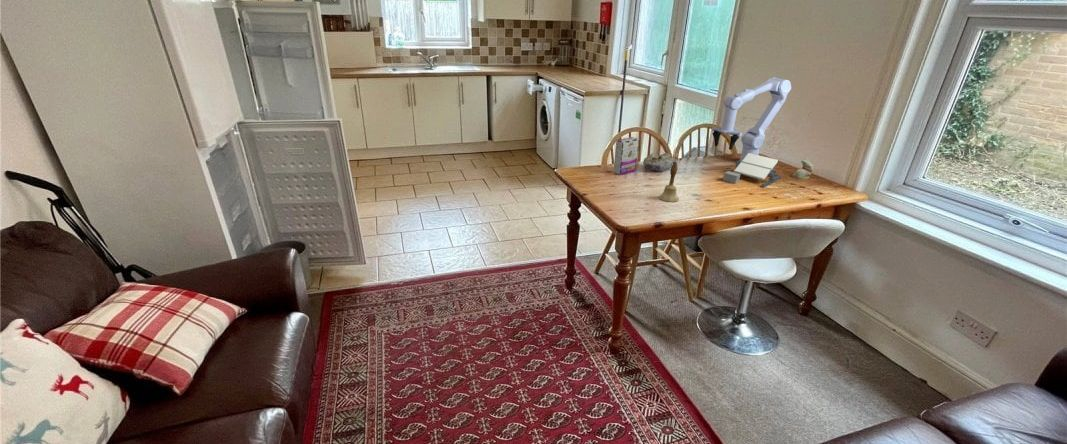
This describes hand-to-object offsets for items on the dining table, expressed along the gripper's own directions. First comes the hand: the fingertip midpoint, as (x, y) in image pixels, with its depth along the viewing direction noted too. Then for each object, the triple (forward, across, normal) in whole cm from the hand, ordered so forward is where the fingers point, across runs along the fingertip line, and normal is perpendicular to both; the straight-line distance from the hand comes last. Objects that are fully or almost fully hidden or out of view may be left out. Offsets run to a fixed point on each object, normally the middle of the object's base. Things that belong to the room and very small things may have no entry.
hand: (723, 147), depth 233 cm
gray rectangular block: (+8, +18, -19) cm, 27 cm away
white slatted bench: (+9, +20, -6) cm, 23 cm away
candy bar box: (+10, -25, -48) cm, 55 cm away
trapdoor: (+3, +20, -6) cm, 21 cm away
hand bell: (+10, +8, -61) cm, 62 cm away
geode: (+10, -18, -31) cm, 37 cm away
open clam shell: (+10, +35, +14) cm, 39 cm away
